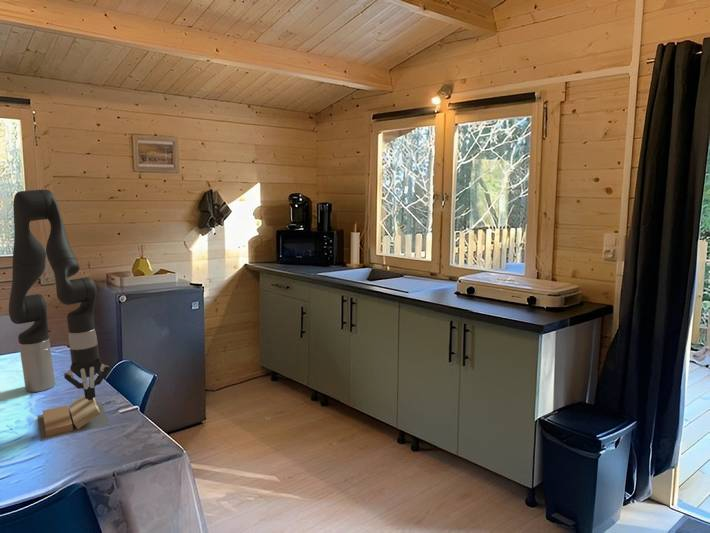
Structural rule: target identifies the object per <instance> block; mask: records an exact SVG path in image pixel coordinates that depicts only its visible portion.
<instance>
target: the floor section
mask: <svg viewBox="0 0 710 533" xmlns="http://www.w3.org/2000/svg"><path fill="white" fill-rule="evenodd" d="M96 404H97V406H98V409H99V411H100V415H98V416H97V417H95V418H94V419H92V420H91V421H89V422H88V423H86V424H85V425H83V426H82V427H80V428H79V429H78V428H77V427H76V426H75V425H74V422H73V418H72V415H71V411H70V408H69V405H62V406H58V407H52V408H48V409H44V410H42V414H39V415H37V422H38V429H39V438H40V442H44V441H48V440H52V439H55V438H59V437H65V436H69V435H72V434H77V433H81V432H84V431H85V432H86V431H89V430H93V429H96V428H100V427H102V428H103V427H105V426H109V425H111V422H110V420H109V417H108V416H107V413H106V411H105V410H106V409H105V408H104V406H103V404H102V401H98V402H96Z"/></svg>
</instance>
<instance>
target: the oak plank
mask: <svg viewBox="0 0 710 533" xmlns="http://www.w3.org/2000/svg"><path fill="white" fill-rule="evenodd" d="M96 403H97V402H96V398H95V397H94V398H93V400H89V401H88V399H86V398H85V394H84V395H82V396H81V397H79V398H78V399H76V400H74V401H73V402H71V403H70V404H68V408H69V409H70V411H71V415H72V418H73V422H74V425H75V426H76V427H77V428H78V429H79V428H80V427H82V426H83V425H85V424H86V423H88V422H89V421H91V420H92V419H94V418H95V417H97V416H98V415H100V411H99V409H98V406H97V404H96Z"/></svg>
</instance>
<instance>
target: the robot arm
mask: <svg viewBox="0 0 710 533" xmlns="http://www.w3.org/2000/svg"><path fill="white" fill-rule="evenodd" d="M12 205H13V226H14V227H13V228H14V229H13V230H14V234H13V236H14V237H13V238H14V239H13V250H12V251H13V252H12V275H11V276H12V278H11V288H10V289H11V290H10V294H9V295H10V296H9V302H8V316H9V319H10V321H11V322H12V323H13V324H15V325H23V324H28V323H32V322H33V324H32V325H31V326H30V327H28V328H27V329H26V330H24V331H22V332H21V333H19V334H18V335H17V339H18V347H19V352H20V360H21V368H22V374H23V379H24V380H23V381H24V388H25V391H26V392H28V393H36V392H37V393H38V392H43V391H45V390H46V391H47V390H49V389H51V388H53V387H55V385H56V380H55V379H56V378H55V372H54V365H53V357H52V350H51V343H50V333H49V322H48V308H47V302H46V299H45V297H44V296H43V295H42V294H39V293H35V294H34V293H33V294H28V293H29V290H30V289H31V288H32V287H33V286H34V285H35V283H37V282H38V280H39V279H40V278H41V276H42V275H43V274H44V271H45V268H46V259H47V260H48V262H49V265H50V267H51V269H52V271H53V275H54V279H55V287H56V288H55V291H56V297H57V299H58V301H59V302H60V303H62V304H63V305H67V306H68V305H69V306H70V305H73V304H79V303H80V304H79V307H77V308H76V309H74V310H72V311H69V313H68V314H67V315H66V321H67V330H68V343H69V344H68V346H69V351H70V360H71V365H70V368H69V370H68V371H67V372H64V373H63V377H64V379H65V380H66V381H67V382H69V383H70V384H71V385H73V386H74V388H77V389H78V390H80V389H82V390H83V393H84V395H85V398H86V399H88V401H89V400H93V398H94V399H95V397H96V389H95V388H96V386H98V385H101V383H102V382H103V380H104V378H105V377H106V375H107V374H108V373H109V371H110V367H109V365H108V364H104V363H102V361H101V360H100V359H101V358H100V355H99V354H100V353H99V345H98V344H99V343H98V338H97V337H98V336H97V333H96V328H95V320H94V311H95V304H96V300H97V294H98V289H97V285H96V283H95V282H96V281H94V280H93V279H92V278H90V277H87V276H86V277H79V278H74V279H69V278H71V277H72V276H75V275H76V274H77V273H79V272H80V265H79V262H78V259H77V257H76V255H75V253H74V251H73V249H72V246H71V245H70V241H69V239H68V235H67V232H66V228H65V224H64V220H63V217H62V213H61V210H60V207H59V204H58V201H57V198H56V197H55V194H54V193H53V192H52V191H51V190H49V189H33V190H22V191H17V192H16V193H15V194H14V197H13V204H12ZM41 220H42V221H43V220H48V222H49V226H50V231H49V235H48V238H47V242H46V247H45V248H44V246H43V244H42V243H41V242H40V241H39V240H38V239H37V238H36V237H35V236H34V234H33V232H32V231H31V229H30V223H31V222H33V221H41ZM27 294H28V295H27ZM99 371H100V372H99ZM98 372H99V373H98ZM97 373H98V375H97ZM74 375H75V376H77V377H78V378H79V379H81V382H80V381H78V380H77V379H76V378H75V377H74ZM95 376H97V377H96V378H95ZM87 378H88V379H87Z"/></svg>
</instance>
